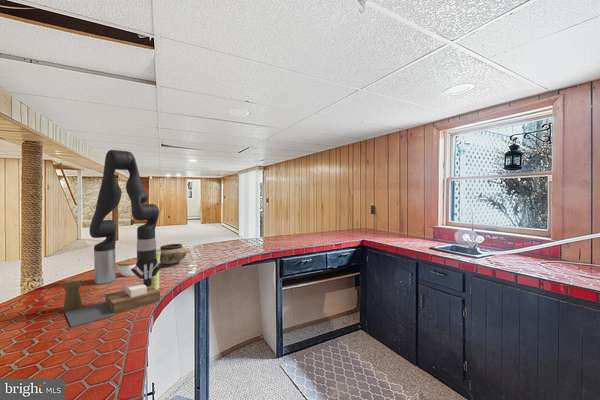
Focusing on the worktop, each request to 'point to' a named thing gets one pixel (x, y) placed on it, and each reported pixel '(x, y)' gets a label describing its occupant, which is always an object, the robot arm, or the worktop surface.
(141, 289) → the ivory card box
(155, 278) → the tube
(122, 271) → the lidded jar
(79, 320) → the charcoal mat
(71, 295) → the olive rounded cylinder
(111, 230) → the robot arm
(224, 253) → the worktop surface
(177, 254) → the ceramic bowl
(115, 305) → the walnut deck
